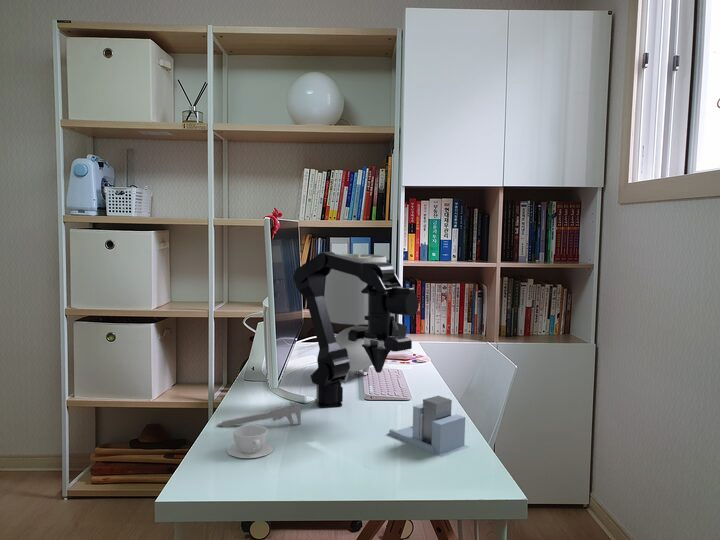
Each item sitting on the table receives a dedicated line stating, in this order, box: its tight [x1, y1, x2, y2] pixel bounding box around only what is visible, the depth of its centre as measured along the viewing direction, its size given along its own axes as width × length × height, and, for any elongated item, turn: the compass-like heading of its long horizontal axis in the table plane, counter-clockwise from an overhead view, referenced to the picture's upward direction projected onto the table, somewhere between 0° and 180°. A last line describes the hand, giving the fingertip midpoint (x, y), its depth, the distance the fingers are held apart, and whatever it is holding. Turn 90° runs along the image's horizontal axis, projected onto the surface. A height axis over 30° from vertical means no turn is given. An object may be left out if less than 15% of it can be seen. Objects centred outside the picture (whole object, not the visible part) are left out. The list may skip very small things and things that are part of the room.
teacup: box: [227, 424, 275, 459], centre depth 129 cm, size 10×10×5 cm
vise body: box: [387, 413, 470, 457], centre depth 134 cm, size 17×9×8 cm, turn 40°
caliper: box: [216, 400, 302, 428], centre depth 145 cm, size 20×1×6 cm, turn 97°
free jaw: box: [412, 403, 423, 441], centre depth 134 cm, size 2×6×8 cm, turn 130°
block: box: [422, 395, 453, 445], centre depth 131 cm, size 4×5×10 cm
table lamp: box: [323, 253, 387, 383], centre depth 190 cm, size 23×22×40 cm
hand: (378, 372), depth 151 cm, fingers closed
